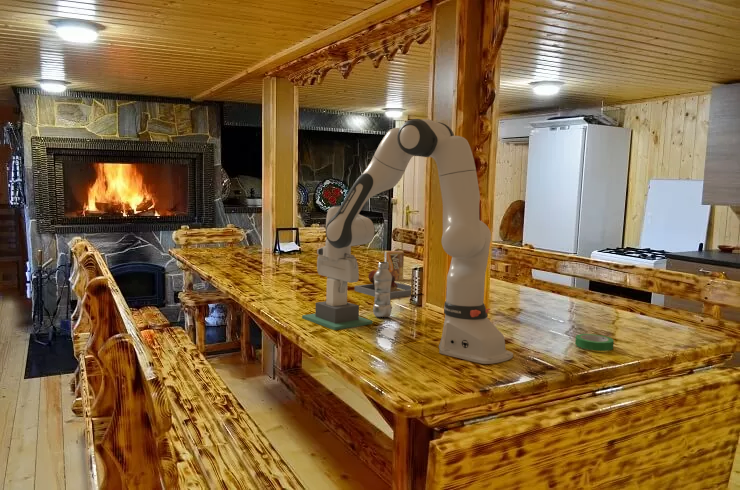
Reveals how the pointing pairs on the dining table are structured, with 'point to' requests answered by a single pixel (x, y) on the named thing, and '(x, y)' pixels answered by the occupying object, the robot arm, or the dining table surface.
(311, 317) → the header board
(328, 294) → the plug
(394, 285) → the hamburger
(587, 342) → the tape roll
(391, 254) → the candy box
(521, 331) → the dining table surface
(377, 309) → the plastic bottle
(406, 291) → the burger tray
